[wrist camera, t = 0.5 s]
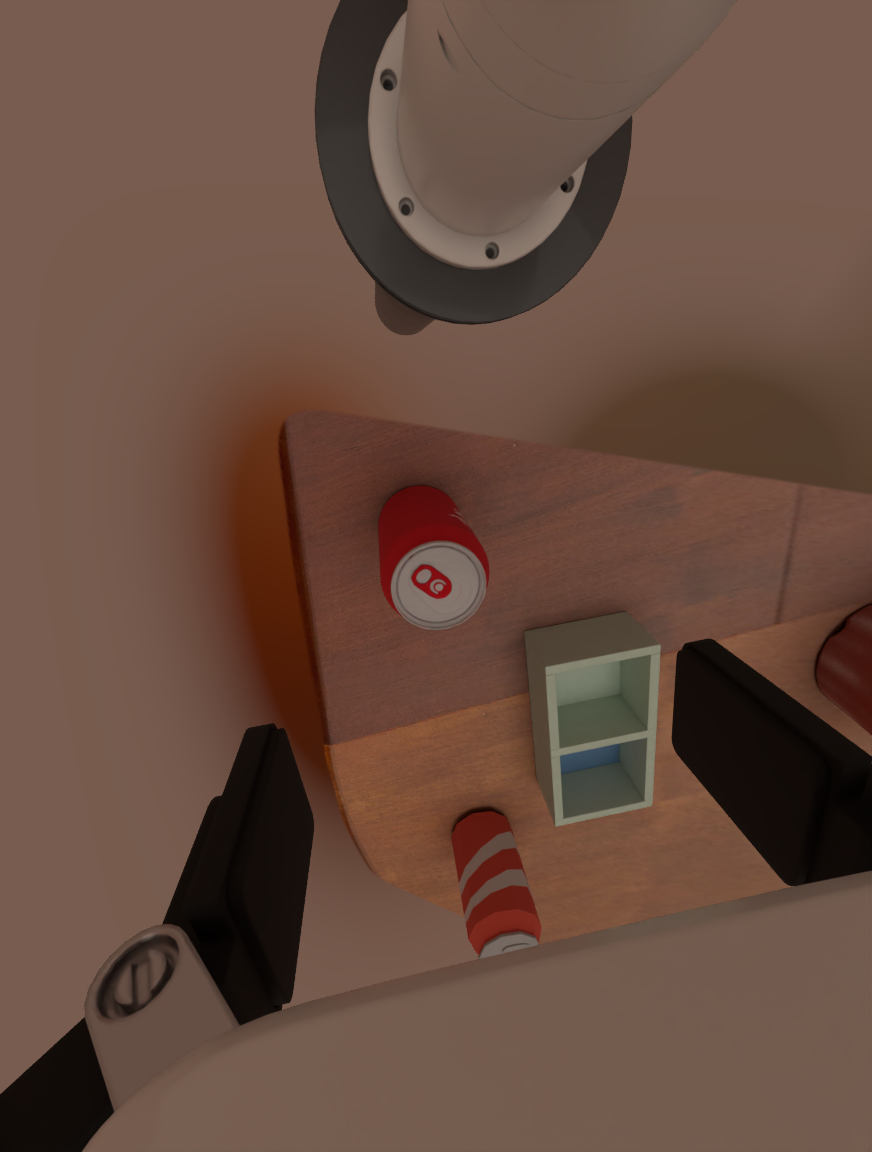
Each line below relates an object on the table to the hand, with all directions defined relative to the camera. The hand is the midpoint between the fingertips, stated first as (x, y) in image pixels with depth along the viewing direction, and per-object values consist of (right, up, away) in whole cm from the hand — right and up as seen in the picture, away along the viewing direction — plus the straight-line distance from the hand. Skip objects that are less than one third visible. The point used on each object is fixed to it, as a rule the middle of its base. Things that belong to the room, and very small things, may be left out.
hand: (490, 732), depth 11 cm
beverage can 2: (+3, -23, +39) cm, 46 cm away
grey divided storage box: (+12, -8, +34) cm, 37 cm away
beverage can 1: (-3, +8, +26) cm, 27 cm away
